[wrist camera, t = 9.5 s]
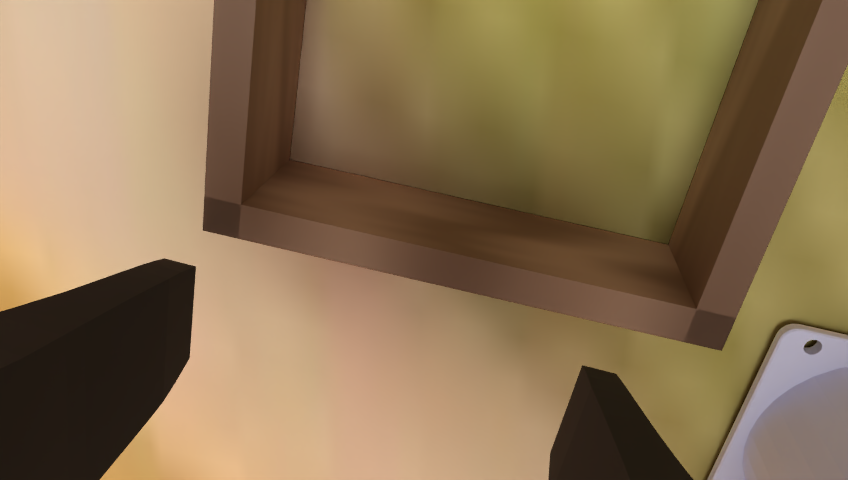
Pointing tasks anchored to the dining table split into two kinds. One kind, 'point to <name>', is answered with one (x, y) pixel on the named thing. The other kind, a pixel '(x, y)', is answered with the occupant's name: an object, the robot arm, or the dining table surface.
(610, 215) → the dining table surface
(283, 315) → the dining table surface
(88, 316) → the robot arm
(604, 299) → the walnut crate
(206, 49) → the dining table surface
